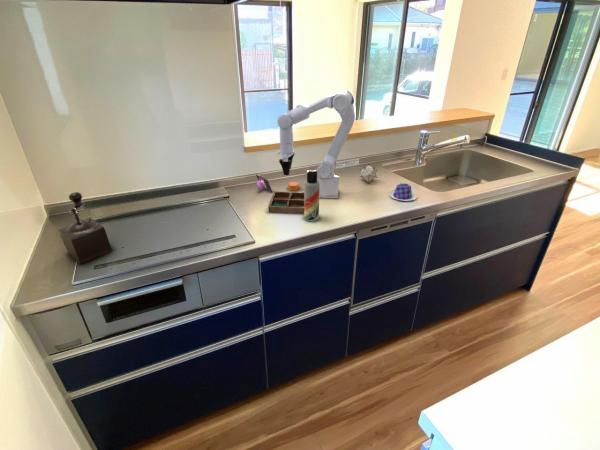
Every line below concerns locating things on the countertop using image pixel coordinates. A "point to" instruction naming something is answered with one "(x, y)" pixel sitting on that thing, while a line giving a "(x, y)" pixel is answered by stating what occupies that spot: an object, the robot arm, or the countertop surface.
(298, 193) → the grid
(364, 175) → the grey spiky ball
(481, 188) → the countertop surface
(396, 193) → the pudding
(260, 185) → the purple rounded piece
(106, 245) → the brown coffee grinder
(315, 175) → the lotion bottle
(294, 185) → the token
